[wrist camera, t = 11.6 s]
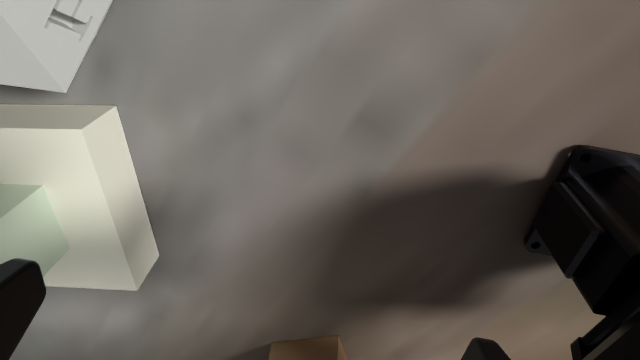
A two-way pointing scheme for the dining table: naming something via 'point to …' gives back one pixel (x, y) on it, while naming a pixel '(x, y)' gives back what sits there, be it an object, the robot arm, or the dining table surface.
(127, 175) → the slab
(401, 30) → the dining table surface
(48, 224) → the tea tin
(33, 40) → the die
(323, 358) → the walnut cube
